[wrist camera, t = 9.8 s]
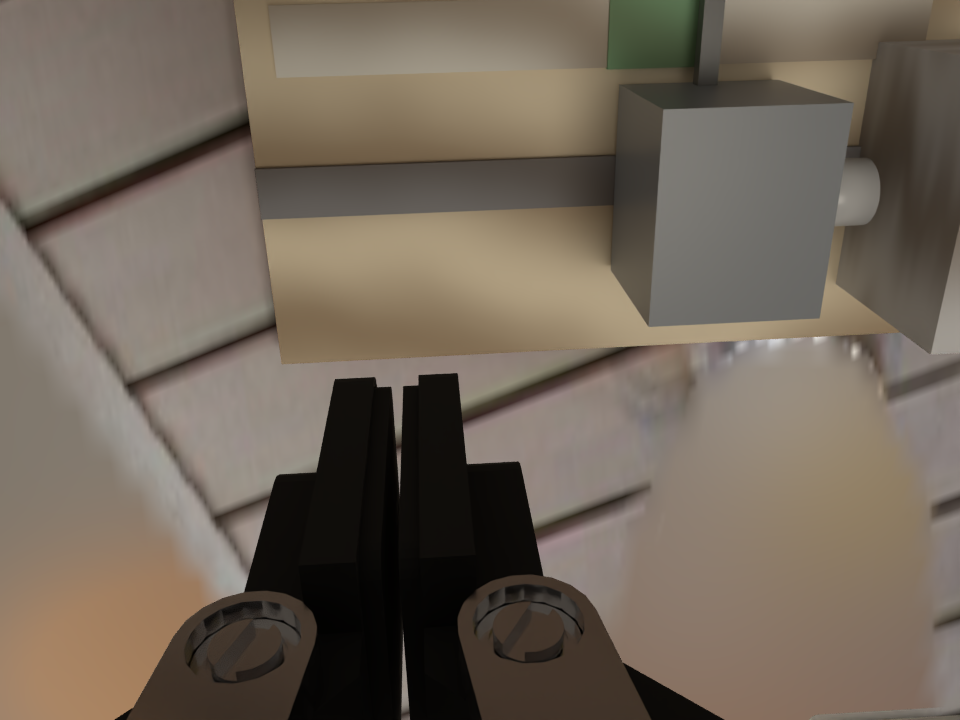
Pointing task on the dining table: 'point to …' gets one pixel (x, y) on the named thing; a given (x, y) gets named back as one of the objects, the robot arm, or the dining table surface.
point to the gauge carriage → (731, 193)
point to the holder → (887, 715)
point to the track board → (565, 165)
